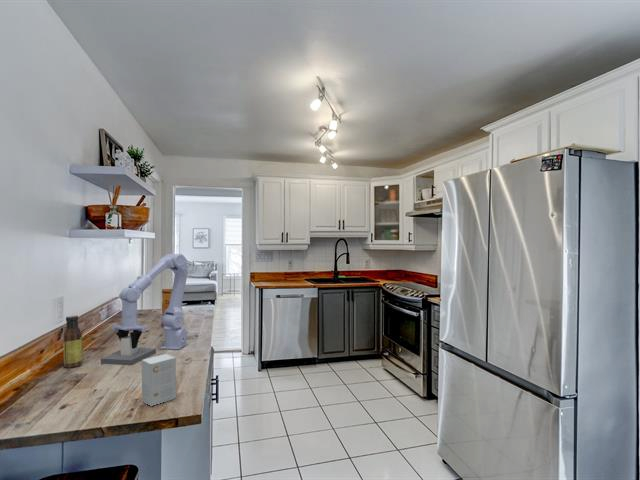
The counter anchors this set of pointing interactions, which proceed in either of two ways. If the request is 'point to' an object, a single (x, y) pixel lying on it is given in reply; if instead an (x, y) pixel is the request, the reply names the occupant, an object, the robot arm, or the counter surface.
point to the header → (128, 357)
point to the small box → (158, 379)
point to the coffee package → (165, 300)
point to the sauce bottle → (72, 343)
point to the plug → (127, 346)
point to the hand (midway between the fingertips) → (129, 347)
